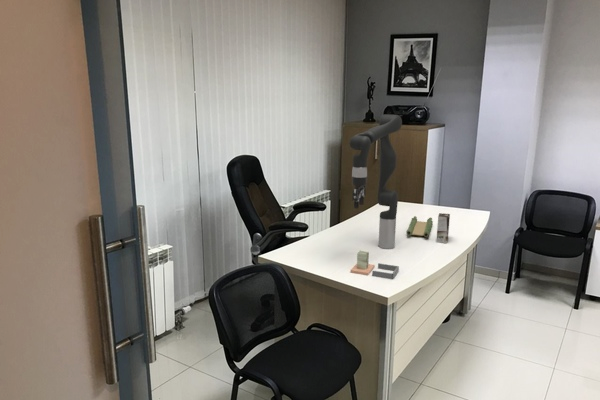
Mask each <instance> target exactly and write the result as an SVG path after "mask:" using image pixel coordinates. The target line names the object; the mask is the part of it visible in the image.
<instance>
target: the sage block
mask: <svg viewBox="0 0 600 400" xmlns="http://www.w3.org/2000/svg"><path fill="white" fill-rule="evenodd" d="M369 256H370V251H366V250H359V251H358V252H357V255H356V258H357V259H356V264H357V268H358V269H364V270H366V269H367V268H368V264H369Z"/></svg>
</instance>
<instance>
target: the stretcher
mask: <svg viewBox="0 0 600 400" xmlns="http://www.w3.org/2000/svg"><path fill="white" fill-rule="evenodd" d="M417 218H418V217H417V216H416V215H414V216H413V217H411V220H410V223H409V224H408V229H406V233H405V234H406V235H407V236H409V237H410V236H420V237H421V236H422V237H425V238H429V237H430V236H431V232H432V229H433V222H434V221H433V217H428V218H427V220H426V221H420V220H419V221H418V219H417Z"/></svg>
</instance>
